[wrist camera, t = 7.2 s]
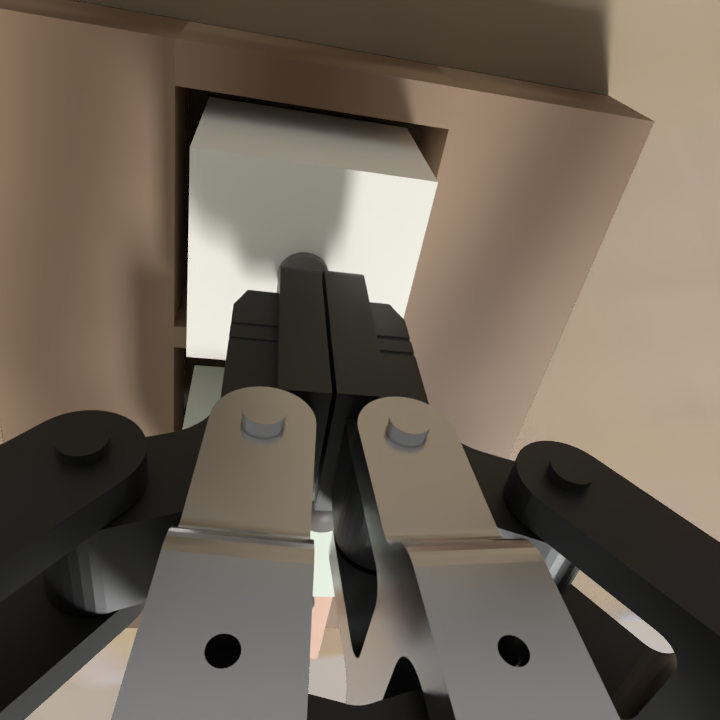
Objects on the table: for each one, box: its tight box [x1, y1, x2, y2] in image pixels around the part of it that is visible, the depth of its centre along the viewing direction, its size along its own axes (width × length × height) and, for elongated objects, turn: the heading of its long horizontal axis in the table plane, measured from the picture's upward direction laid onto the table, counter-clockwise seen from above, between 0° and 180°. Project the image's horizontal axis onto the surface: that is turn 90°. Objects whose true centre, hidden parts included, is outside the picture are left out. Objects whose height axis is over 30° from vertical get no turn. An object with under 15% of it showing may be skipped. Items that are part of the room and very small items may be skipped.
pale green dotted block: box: [182, 365, 335, 597], centre depth 15 cm, size 4×4×4 cm
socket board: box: [0, 0, 654, 628], centre depth 18 cm, size 14×19×2 cm
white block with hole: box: [186, 97, 438, 360], centre depth 13 cm, size 4×4×4 cm
